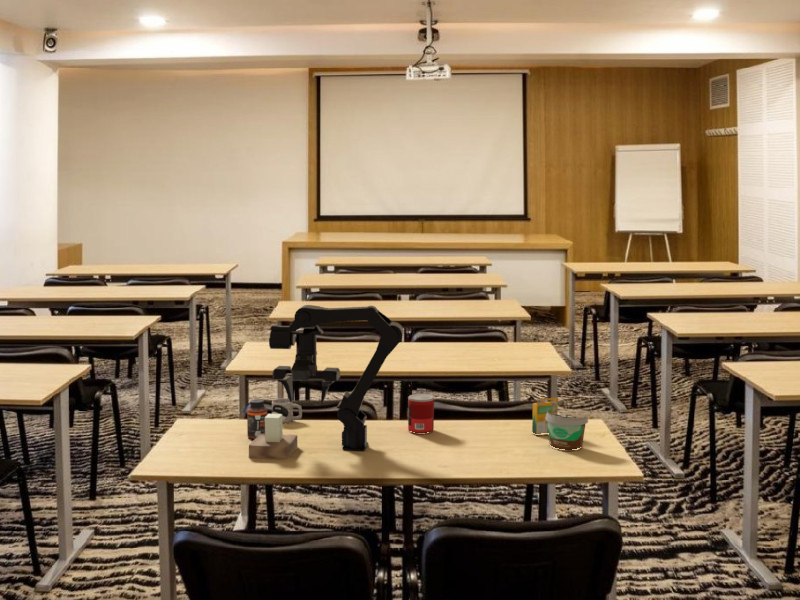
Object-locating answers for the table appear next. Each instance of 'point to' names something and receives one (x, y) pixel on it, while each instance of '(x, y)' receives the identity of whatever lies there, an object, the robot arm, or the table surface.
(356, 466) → the table surface
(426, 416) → the canned food
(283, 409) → the mug
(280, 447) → the walnut block
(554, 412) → the crayon box
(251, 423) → the supplement bottle
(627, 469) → the table surface
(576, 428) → the food container
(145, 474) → the table surface
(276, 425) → the sage block
